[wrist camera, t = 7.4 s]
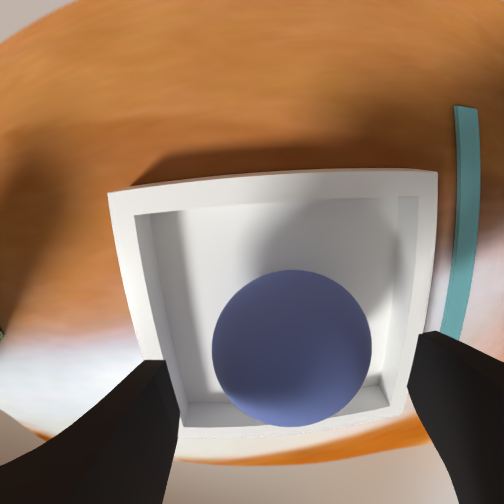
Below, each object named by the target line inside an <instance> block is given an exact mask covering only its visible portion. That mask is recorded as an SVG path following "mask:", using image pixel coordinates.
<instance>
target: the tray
mask: <svg viewBox="0 0 504 504" xmlns="http://www.w3.org/2000/svg"><path fill="white" fill-rule="evenodd" d="M108 201H109V208H110V215H111V221H112V227H113V233H114V239H115V244H116V250H117V255H118V260H119V265H120V270H121V275H122V280H123V284H124V289H125V293H126V297H127V301H128V306H129V310H130V314H131V318H132V321H133V325H134V329H135V333H136V336H137V340H138V343H139V347H140V350H141V354H142V357H143V361H144V360H166V363H167V367H168V371H169V374H170V378H171V382H172V385H173V389H174V392H175V395H176V399H177V402H178V405H179V409H180V421H179V430H178V438H193V439H224V438H251V437H266V436H278V435H289V434H298V433H306V432H314V431H321V430H328V429H334V428H340V427H345V426H351V425H356V424H361V423H366V422H371V421H375V420H380V419H384V418H388V417H392V416H396V415H400V414H402V413H403V409H404V406H405V403H406V399H407V396H408V393H409V392H408V389H407V383H408V379H409V375H410V371H411V367H412V363H413V358H414V354H415V349H416V345H417V340H418V335H419V334H422V333H423V329H424V324H425V319H426V313H427V307H428V301H429V294H430V287H431V279H432V271H433V262H434V252H435V240H436V226H437V203H438V172H434V171H427V170H420V169H412V168H338V169H309V170H288V171H271V172H257V173H244V174H232V175H221V176H210V177H201V178H191V179H183V180H174V181H166V182H158V183H151V184H143V185H136V186H130V187H126V188H123V189H119V190H116V191H113V192H109V193H108ZM283 270H303V271H309V272H314V273H317V274H320V275H323V276H325V277H327V278H330V279H332V280H333V281H335V282H337V283H338V284H340V285H341V286H343V287H344V288H345V289H346V290H347V291H348V292H349V293H350V294H351V295H352V296H353V297H354V298H355V300H356V301H357V302H358V303H359V305H360V307H361V309H362V310H363V312H364V314H365V316H366V318H367V321H368V324H369V328H370V332H371V338H372V356H371V362H370V367H369V370H368V373H367V376H366V378H365V380H364V382H363V384H362V386H361V388H360V389H359V391H358V393H357V394H356V395H355V396H354V397H353V399H352V400H351V401H350V402H349V403H348V404H347V405H346V406H345V407H344V408H343V409H341V410H340V411H339V412H337V413H336V414H334V415H333V416H331V417H329V418H327V419H325V420H323V421H320V422H318V423H315V424H311V425H307V426H301V427H279V426H273V425H269V424H266V423H263V422H261V421H258V420H256V419H254V418H252V417H250V416H248V415H247V414H245V413H244V412H243V411H241V410H240V409H239V408H237V407H236V406H235V405H234V404H233V403H232V402H231V400H230V399H229V398H228V396H227V395H226V394H225V393H224V391H223V389H222V388H221V386H220V384H219V382H218V380H217V377H216V374H215V371H214V367H213V361H212V339H213V333H214V329H215V326H216V323H217V320H218V318H219V316H220V314H221V312H222V310H223V309H224V307H225V306H226V304H227V303H228V301H229V300H230V299H231V298H232V297H233V296H234V295H235V294H236V293H237V292H238V291H239V290H240V289H241V288H243V287H244V286H245V285H247V284H248V283H250V282H251V281H253V280H255V279H257V278H259V277H261V276H263V275H266V274H269V273H272V272H277V271H283Z"/></svg>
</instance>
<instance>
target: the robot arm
mask: <svg viewBox="0 0 504 504" xmlns="http://www.w3.org/2000/svg"><path fill="white" fill-rule="evenodd" d="M407 389H408V392H409V395H410V397H411V400H412V403H413V405H414V408H415V410H416V413H417V415H418V416H419V418H420V420H421V422H422V424H423V426H424V427H425V429H426V431H427V433H428V435H429V437H430V438H431V440H432V442H433V444H434V446H435V447H436V449H437V451H438V453H439V455H440V457H441V459H442V460H443V462H444V464H445V466H446V468H447V471H448V472H449V475H450V477H451V480H452V483H453V486H454V489H455V492H456V495H457V498H458V501H459V504H504V362H502V361H499V360H497V359H495V358H493V357H491V356H489V355H487V354H485V353H483V352H481V351H479V350H477V349H475V348H473V347H471V346H469V345H466V344H464V343H462V342H460V341H458V340H456V339H454V338H452V337H450V336H448V335H445V334H443V333H440V332H438V331H431V332H427V333H422V334H419V335H418V340H417V345H416V349H415V354H414V358H413V363H412V367H411V371H410V375H409V379H408V383H407ZM179 421H180V409H179V405H178V402H177V399H176V395H175V392H174V389H173V385H172V382H171V378H170V374H169V371H168V367H167V363H166V360H144V361H143V362H142V363H141V364H140V365H138V366H137V367H136V368H135V369H134V370H133V371H132V372H131V373H130V374H129V375H128V376H127V377H126V378H125V379H124V380H122V381H121V382H120V383H119V384H118V385H117V386H116V387H115V388H114V389H113V390H112V391H111V392H109V393H108V394H107V395H106V396H105V397H104V398H103V399H102V400H101V401H100V402H98V403H97V404H96V405H95V406H94V407H93V408H91V409H90V410H89V411H88V412H86V413H85V414H84V415H83V416H82V417H80V418H79V419H78V420H77V421H75V422H74V423H73V424H72V425H70V426H69V427H68V428H66V429H65V430H64V431H62V432H61V433H59V434H58V435H56V436H55V437H53V438H52V439H50V440H49V441H47V442H46V443H44V444H43V445H41V446H39V447H37V448H36V449H34V450H32V451H30V452H28V453H26V454H24V455H22V456H20V457H18V458H16V459H14V460H12V461H10V462H8V463H6V464H4V465H1V466H0V504H162V502H163V498H164V494H165V490H166V485H167V481H168V477H169V473H170V469H171V465H172V461H173V457H174V453H175V449H176V444H177V439H178V430H179Z"/></svg>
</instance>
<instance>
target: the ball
mask: <svg viewBox="0 0 504 504" xmlns="http://www.w3.org/2000/svg"><path fill="white" fill-rule="evenodd" d="M371 356H372V338H371V332H370V328H369V324H368V321H367V318H366V316H365V314H364V312H363V310H362V309H361V307H360V305H359V303H358V302H357V301H356V300H355V298H354V297H353V296H352V295H351V294H350V293H349V292H348V291H347V290H346V289H345V288H344V287H343V286H341V285H340V284H338V283H337V282H335V281H333V280H332V279H330V278H327V277H325V276H323V275H320V274H317V273H314V272H309V271H303V270H283V271H277V272H272V273H269V274H266V275H263V276H261V277H259V278H257V279H255V280H253V281H251V282H250V283H248V284H247V285H245V286H244V287H243V288H241V289H240V290H239V291H238V292H237V293H236V294H235V295H234V296H233V297H232V298H231V299H230V300H229V301H228V303H227V304H226V306H225V307H224V309H223V310H222V312H221V314H220V316H219V318H218V320H217V323H216V326H215V329H214V333H213V339H212V361H213V367H214V371H215V374H216V377H217V380H218V382H219V384H220V386H221V388H222V389H223V391H224V393H225V394H226V395H227V396H228V398H229V399H230V400H231V402H232V403H233V404H234V405H235V406H236V407H237V408H239V409H240V410H241V411H243V412H244V413H245V414H247V415H248V416H250V417H252V418H254V419H256V420H258V421H261V422H263V423H266V424H269V425H273V426H279V427H301V426H307V425H311V424H315V423H318V422H320V421H323V420H325V419H327V418H329V417H331V416H333V415H334V414H336V413H337V412H339V411H340V410H341V409H343V408H344V407H345V406H346V405H347V404H348V403H349V402H350V401H351V400H352V399H353V397H354V396H355V395H356V394H357V393H358V391H359V389H360V388H361V386H362V384H363V382H364V380H365V378H366V376H367V373H368V370H369V367H370V362H371Z"/></svg>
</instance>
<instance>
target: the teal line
mask: <svg viewBox="0 0 504 504" xmlns="http://www.w3.org/2000/svg"><path fill="white" fill-rule="evenodd" d="M454 117H455V130H456V148H457V206H456V224H455V237H454V248H453V257H452V266H451V274H450V281H449V287H448V294H447V299H446V305H445V311H444V316H443V321H442V326H441V330H440V333H443V334H445V335H448V336H450V337H452V338H454V339H456V340H458V341H459V338H460V334H461V330H462V325H463V321H464V317H465V312H466V307H467V303H468V297H469V292H470V287H471V281H472V275H473V268H474V261H475V253H476V245H477V235H478V223H479V208H480V137H479V123H478V112H477V109H473V108H468V107H463V106H458V105H457V106H454Z"/></svg>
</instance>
